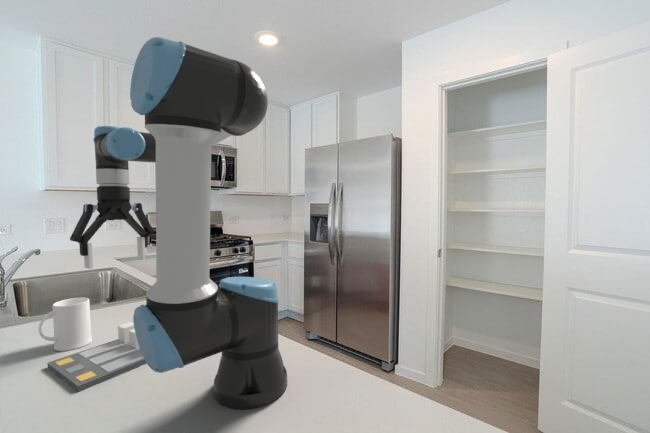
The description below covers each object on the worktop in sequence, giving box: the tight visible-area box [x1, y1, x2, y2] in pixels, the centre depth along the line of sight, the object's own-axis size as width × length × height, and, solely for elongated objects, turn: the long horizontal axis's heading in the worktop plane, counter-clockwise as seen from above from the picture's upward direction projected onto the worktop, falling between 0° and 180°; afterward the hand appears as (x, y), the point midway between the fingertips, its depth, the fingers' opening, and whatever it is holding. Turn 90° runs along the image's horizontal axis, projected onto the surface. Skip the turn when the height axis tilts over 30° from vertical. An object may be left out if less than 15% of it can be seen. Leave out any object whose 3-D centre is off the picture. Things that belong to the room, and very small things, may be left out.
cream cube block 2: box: [129, 329, 139, 348], centre depth 88 cm, size 4×4×4 cm
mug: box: [38, 297, 93, 352], centre depth 90 cm, size 12×8×12 cm
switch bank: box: [46, 338, 147, 392], centre depth 83 cm, size 18×22×1 cm
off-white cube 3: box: [117, 321, 134, 343], centre depth 91 cm, size 4×4×4 cm
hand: (116, 263), depth 91 cm, fingers open, 13 cm apart
